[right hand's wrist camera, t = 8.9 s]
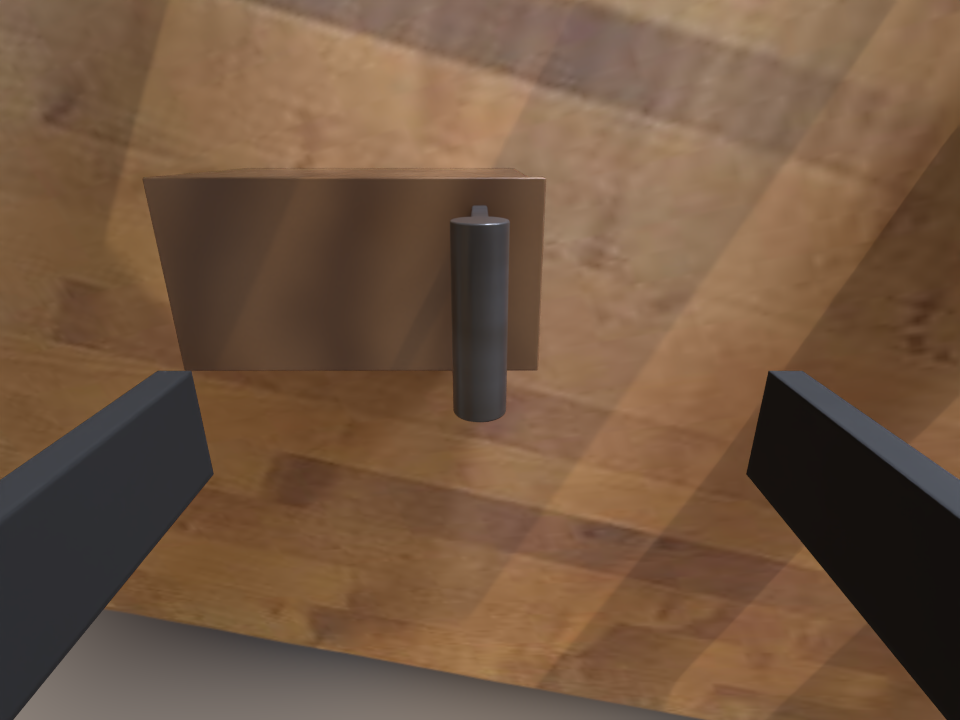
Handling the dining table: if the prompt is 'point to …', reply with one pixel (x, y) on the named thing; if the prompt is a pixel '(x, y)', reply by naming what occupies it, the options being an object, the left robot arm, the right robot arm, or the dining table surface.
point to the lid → (356, 275)
